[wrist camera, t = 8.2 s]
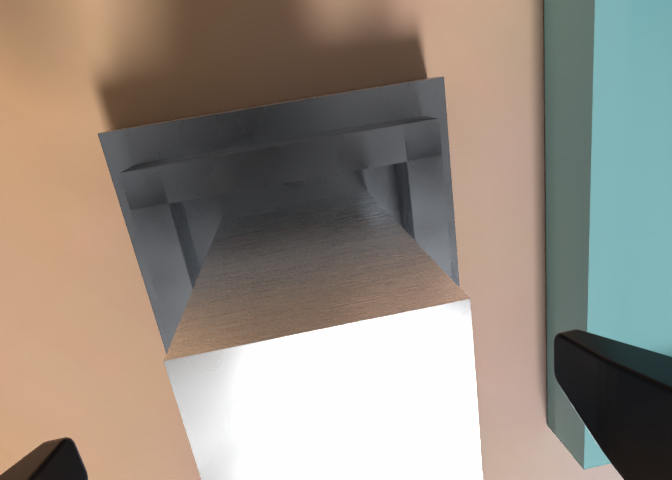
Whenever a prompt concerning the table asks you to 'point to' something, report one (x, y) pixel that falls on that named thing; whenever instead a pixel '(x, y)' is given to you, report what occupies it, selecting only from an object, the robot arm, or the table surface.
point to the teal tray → (607, 184)
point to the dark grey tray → (280, 175)
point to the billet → (325, 351)
